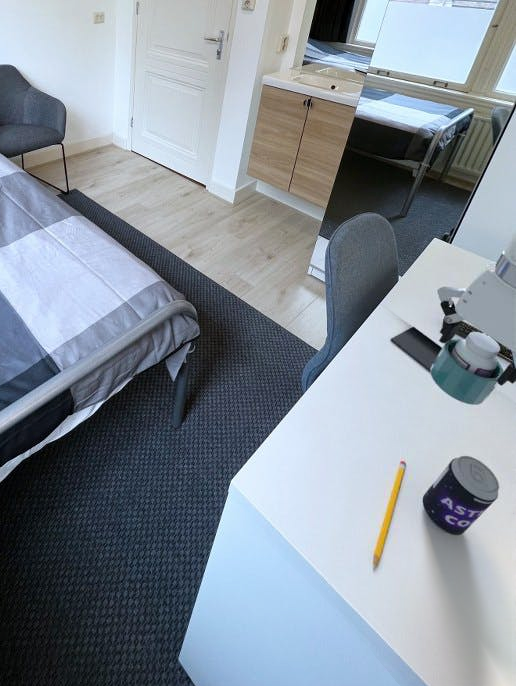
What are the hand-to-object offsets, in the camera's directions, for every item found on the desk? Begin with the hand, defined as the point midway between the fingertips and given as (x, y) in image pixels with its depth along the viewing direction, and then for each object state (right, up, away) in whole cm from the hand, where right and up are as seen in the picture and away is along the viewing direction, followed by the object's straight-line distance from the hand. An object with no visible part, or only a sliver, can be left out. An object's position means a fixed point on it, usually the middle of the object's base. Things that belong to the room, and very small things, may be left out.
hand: (473, 358), depth 67 cm
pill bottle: (0, -5, +3) cm, 6 cm away
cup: (0, -5, +3) cm, 6 cm away
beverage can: (-6, -24, -2) cm, 25 cm away
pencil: (-14, -23, -1) cm, 27 cm away
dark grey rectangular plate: (+14, -10, +28) cm, 33 cm away
